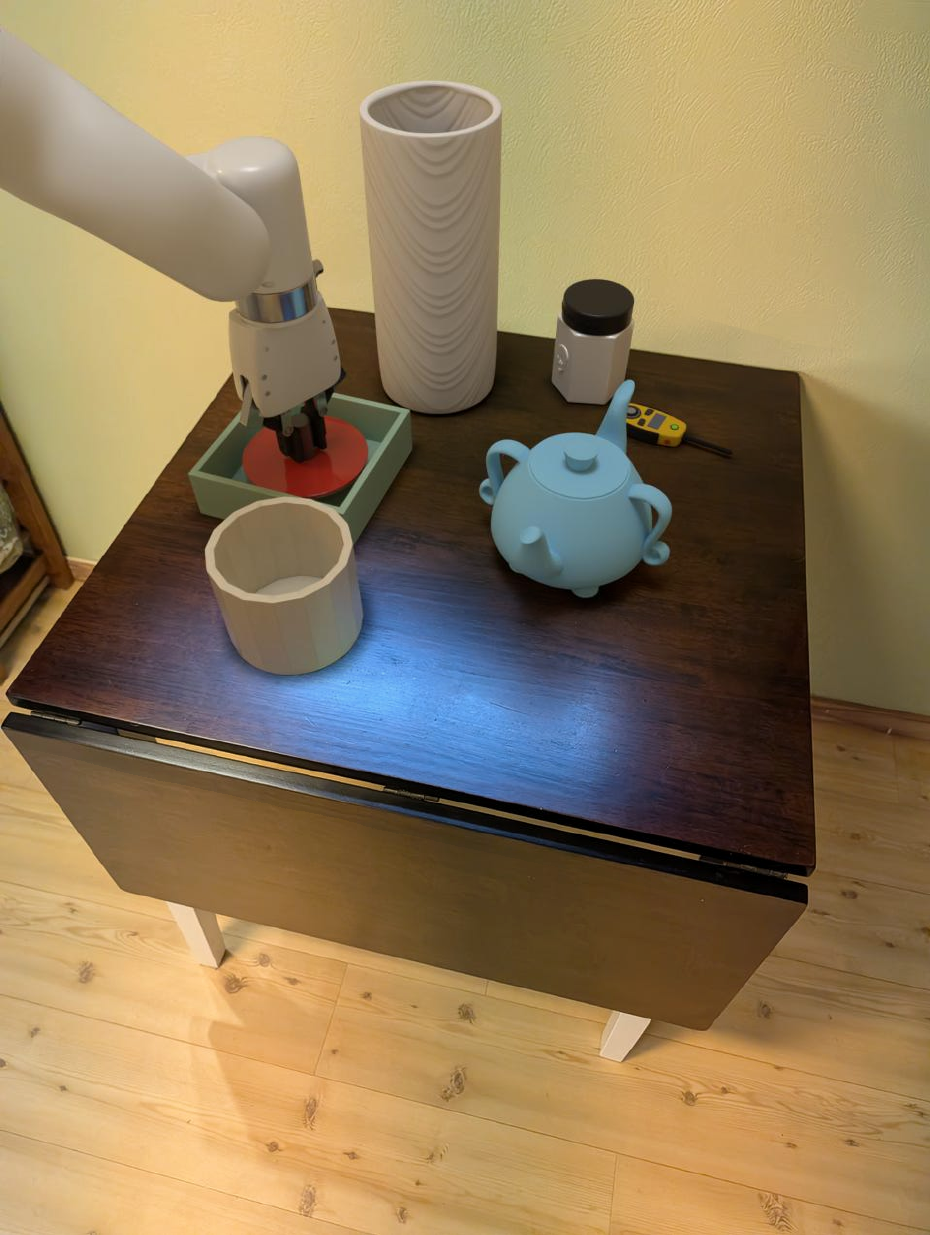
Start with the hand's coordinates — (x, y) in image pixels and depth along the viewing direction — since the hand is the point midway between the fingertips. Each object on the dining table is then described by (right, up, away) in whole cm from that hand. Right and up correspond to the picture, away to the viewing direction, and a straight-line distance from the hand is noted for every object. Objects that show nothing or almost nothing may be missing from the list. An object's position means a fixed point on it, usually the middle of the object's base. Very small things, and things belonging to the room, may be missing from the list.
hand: (304, 448), depth 91 cm
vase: (+14, +11, +15) cm, 23 cm away
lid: (0, -1, +1) cm, 1 cm away
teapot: (+28, -12, -4) cm, 30 cm away
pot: (+1, -19, -9) cm, 21 cm away
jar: (+33, +11, +15) cm, 37 cm away
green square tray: (0, -3, +3) cm, 4 cm away
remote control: (+41, +3, +8) cm, 42 cm away
